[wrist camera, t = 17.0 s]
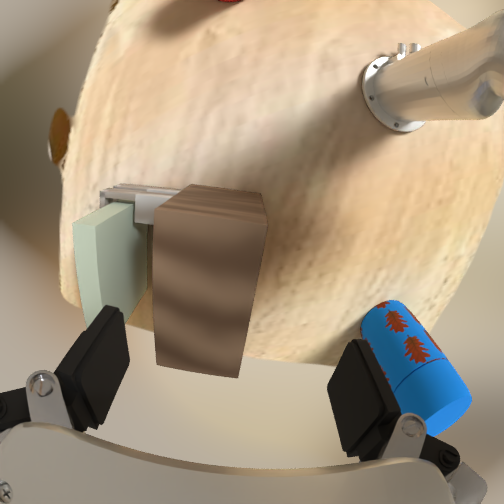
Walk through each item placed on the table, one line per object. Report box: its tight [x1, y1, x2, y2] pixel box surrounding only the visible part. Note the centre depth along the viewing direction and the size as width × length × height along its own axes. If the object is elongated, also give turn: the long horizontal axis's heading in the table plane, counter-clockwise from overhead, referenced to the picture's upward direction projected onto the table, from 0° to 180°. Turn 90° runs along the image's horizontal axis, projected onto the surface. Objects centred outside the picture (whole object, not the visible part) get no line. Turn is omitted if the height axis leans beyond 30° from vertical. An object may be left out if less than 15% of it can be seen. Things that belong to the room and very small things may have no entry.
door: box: [72, 199, 148, 328], centre depth 33 cm, size 16×4×16 cm, turn 171°
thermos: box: [360, 300, 472, 437], centre depth 35 cm, size 11×11×25 cm
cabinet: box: [100, 184, 268, 378], centre depth 33 cm, size 19×21×16 cm
